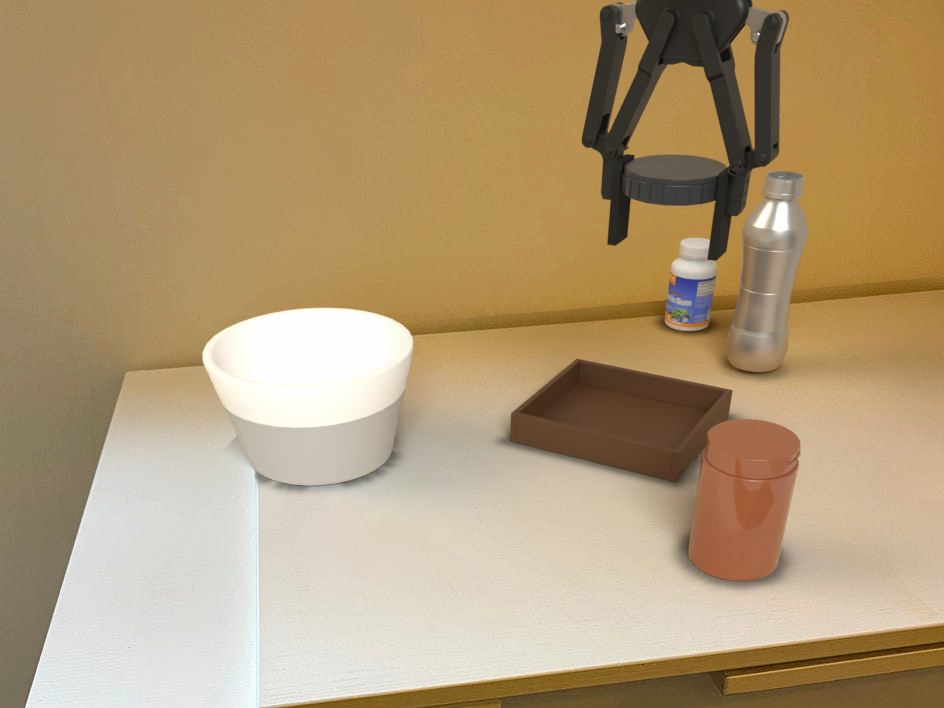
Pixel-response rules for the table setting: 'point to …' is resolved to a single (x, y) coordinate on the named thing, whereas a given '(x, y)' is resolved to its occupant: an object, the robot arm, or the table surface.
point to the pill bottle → (691, 287)
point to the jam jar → (743, 498)
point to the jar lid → (672, 179)
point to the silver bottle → (768, 275)
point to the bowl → (312, 390)
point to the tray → (621, 418)
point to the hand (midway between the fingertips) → (666, 247)
